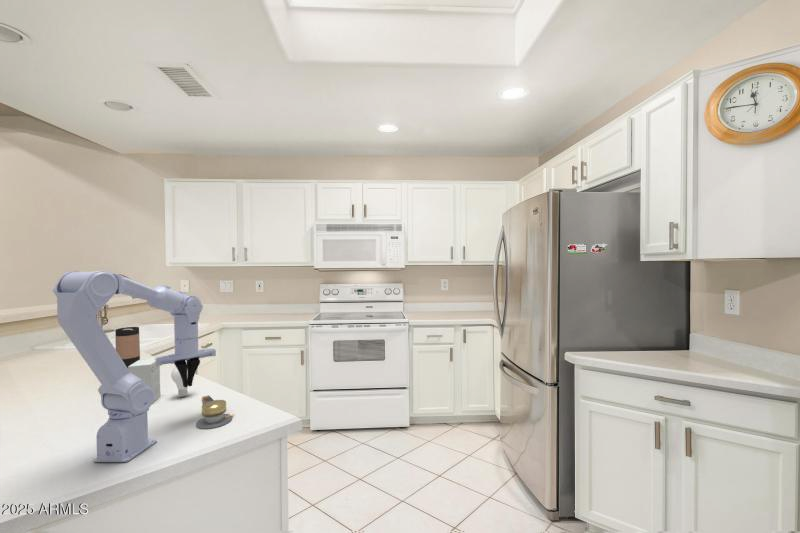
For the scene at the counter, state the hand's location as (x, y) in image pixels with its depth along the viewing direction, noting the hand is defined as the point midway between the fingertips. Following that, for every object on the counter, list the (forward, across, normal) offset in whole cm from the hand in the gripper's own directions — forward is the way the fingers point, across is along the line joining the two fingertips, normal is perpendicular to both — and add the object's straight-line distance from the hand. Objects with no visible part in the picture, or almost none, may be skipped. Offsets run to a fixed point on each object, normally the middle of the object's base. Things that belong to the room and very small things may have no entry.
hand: (187, 385), depth 99 cm
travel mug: (+10, +8, -62) cm, 64 cm away
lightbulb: (+10, -3, -23) cm, 25 cm away
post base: (+10, -5, +6) cm, 13 cm away
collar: (+7, -5, +3) cm, 10 cm away
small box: (+10, +7, -27) cm, 30 cm away
